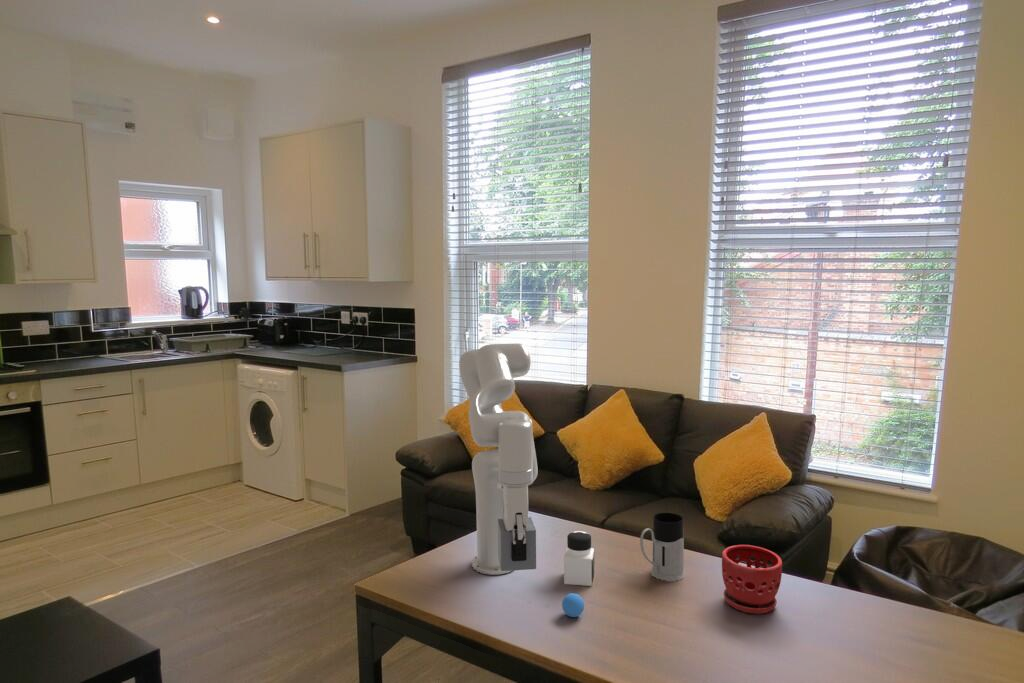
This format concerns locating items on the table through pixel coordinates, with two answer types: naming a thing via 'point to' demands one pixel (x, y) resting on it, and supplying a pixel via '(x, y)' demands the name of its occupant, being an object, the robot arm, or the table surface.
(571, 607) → the ball
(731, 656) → the table surface
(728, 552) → the plant pot
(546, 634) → the table surface
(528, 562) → the gray cube
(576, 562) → the medicine bottle
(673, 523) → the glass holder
